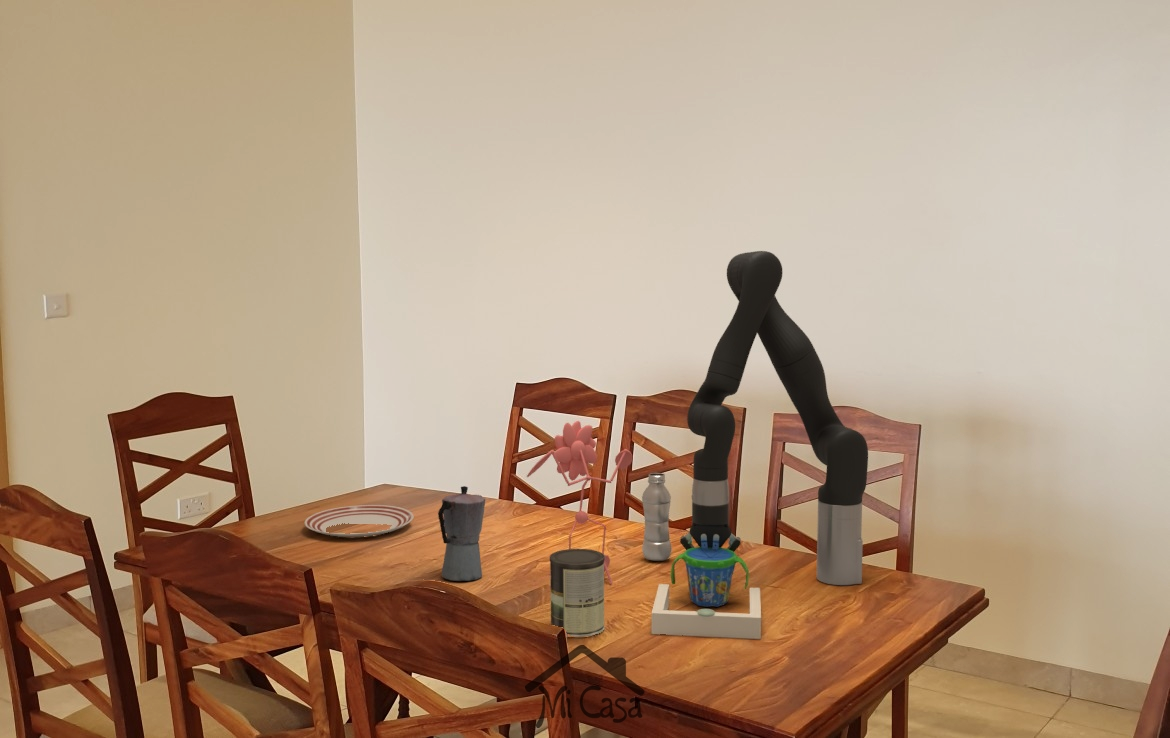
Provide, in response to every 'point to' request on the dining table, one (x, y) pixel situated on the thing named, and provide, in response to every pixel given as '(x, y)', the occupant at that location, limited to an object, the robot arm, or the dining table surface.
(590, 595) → the coffee can
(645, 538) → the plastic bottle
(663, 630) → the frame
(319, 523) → the dinner plate
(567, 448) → the figurine
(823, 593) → the dining table surface
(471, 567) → the moka pot
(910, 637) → the dining table surface
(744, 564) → the snack cup
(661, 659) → the dining table surface
